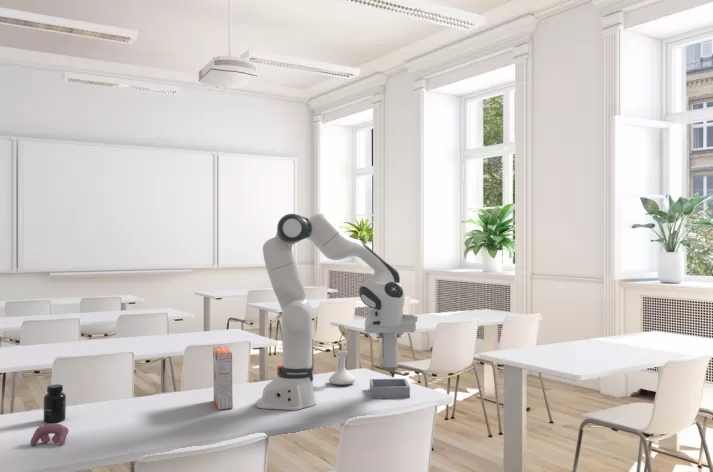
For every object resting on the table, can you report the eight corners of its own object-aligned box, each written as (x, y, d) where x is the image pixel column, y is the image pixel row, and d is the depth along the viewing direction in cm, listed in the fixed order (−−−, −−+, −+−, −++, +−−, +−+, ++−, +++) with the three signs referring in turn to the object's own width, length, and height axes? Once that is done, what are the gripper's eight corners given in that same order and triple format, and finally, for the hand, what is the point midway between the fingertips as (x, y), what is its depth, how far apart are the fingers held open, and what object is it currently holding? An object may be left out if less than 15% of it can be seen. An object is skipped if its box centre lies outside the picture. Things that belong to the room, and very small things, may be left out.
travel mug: (397, 367, 252) (397, 317, 253) (397, 370, 246) (396, 319, 246) (382, 366, 253) (382, 317, 253) (381, 370, 246) (381, 319, 247)
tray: (371, 397, 242) (371, 387, 242) (369, 388, 256) (369, 379, 256) (409, 397, 243) (409, 387, 243) (405, 388, 257) (405, 378, 257)
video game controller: (67, 447, 191) (71, 424, 194) (61, 445, 187) (65, 421, 190) (34, 448, 190) (39, 424, 194) (28, 446, 186) (33, 422, 189)
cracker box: (212, 400, 238) (212, 346, 238) (228, 399, 240) (228, 345, 240) (216, 410, 225) (216, 353, 225) (232, 409, 227) (232, 352, 227)
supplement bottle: (41, 424, 209) (41, 388, 209) (45, 418, 215) (45, 384, 215) (63, 422, 211) (63, 387, 211) (67, 417, 217) (67, 382, 217)
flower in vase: (357, 386, 260) (357, 327, 260) (330, 387, 259) (329, 327, 259) (353, 379, 273) (352, 322, 273) (327, 380, 272) (327, 323, 272)
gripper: (417, 308, 242) (414, 329, 252) (365, 309, 242) (364, 330, 252) (418, 321, 238) (415, 342, 248) (365, 322, 237) (364, 343, 247)
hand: (389, 336), depth 250 cm, fingers closed on travel mug, 6 cm apart
